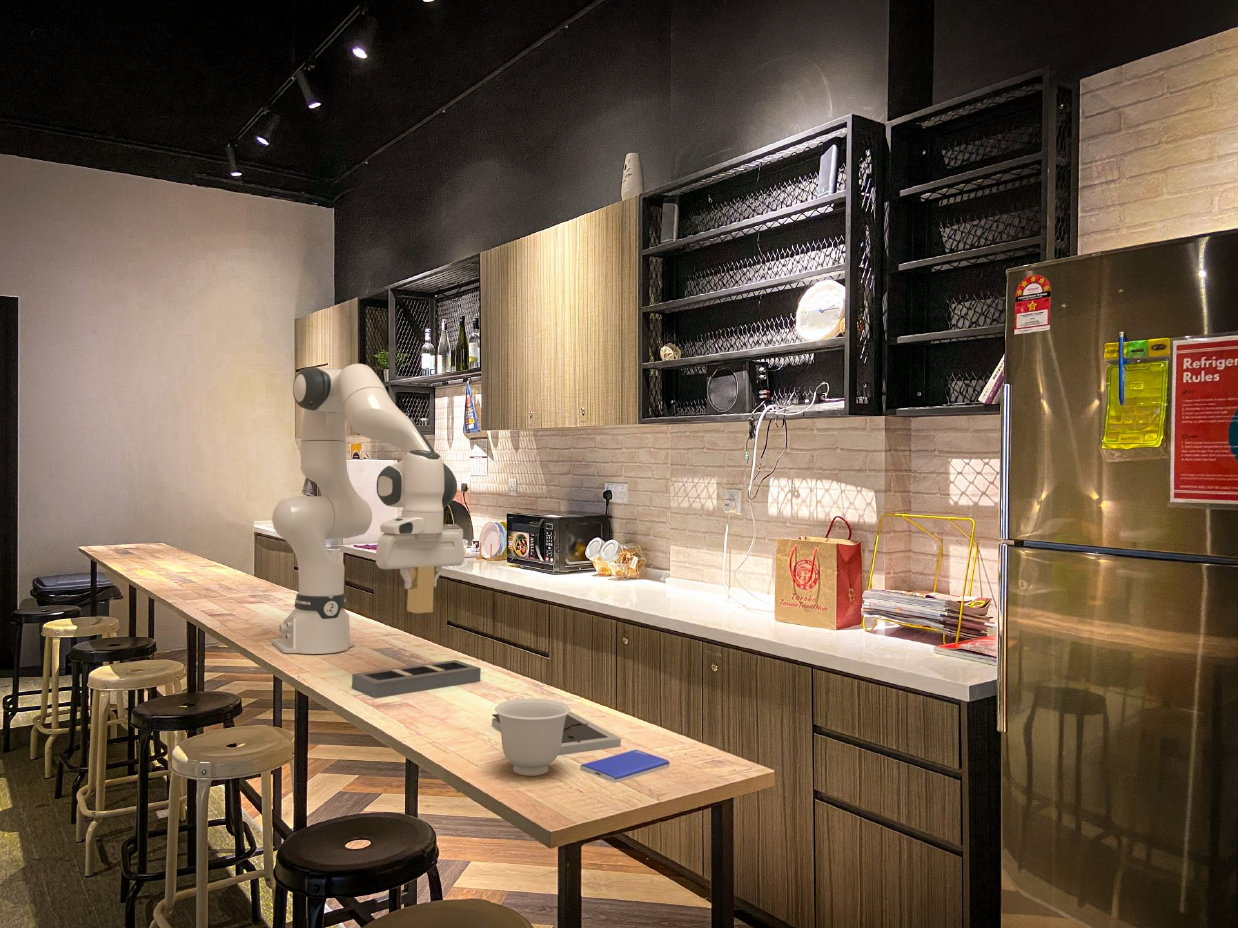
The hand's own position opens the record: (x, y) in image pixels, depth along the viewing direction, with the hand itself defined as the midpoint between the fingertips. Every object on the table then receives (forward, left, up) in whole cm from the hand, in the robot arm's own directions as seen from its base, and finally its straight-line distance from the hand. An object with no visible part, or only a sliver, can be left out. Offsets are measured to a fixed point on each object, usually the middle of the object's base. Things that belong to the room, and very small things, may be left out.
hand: (420, 587), depth 204 cm
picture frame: (+48, 0, -22) cm, 53 cm away
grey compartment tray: (0, 0, -21) cm, 21 cm away
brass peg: (0, 0, -5) cm, 5 cm away
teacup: (+59, -14, -21) cm, 64 cm away
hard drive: (+69, -2, -22) cm, 72 cm away
